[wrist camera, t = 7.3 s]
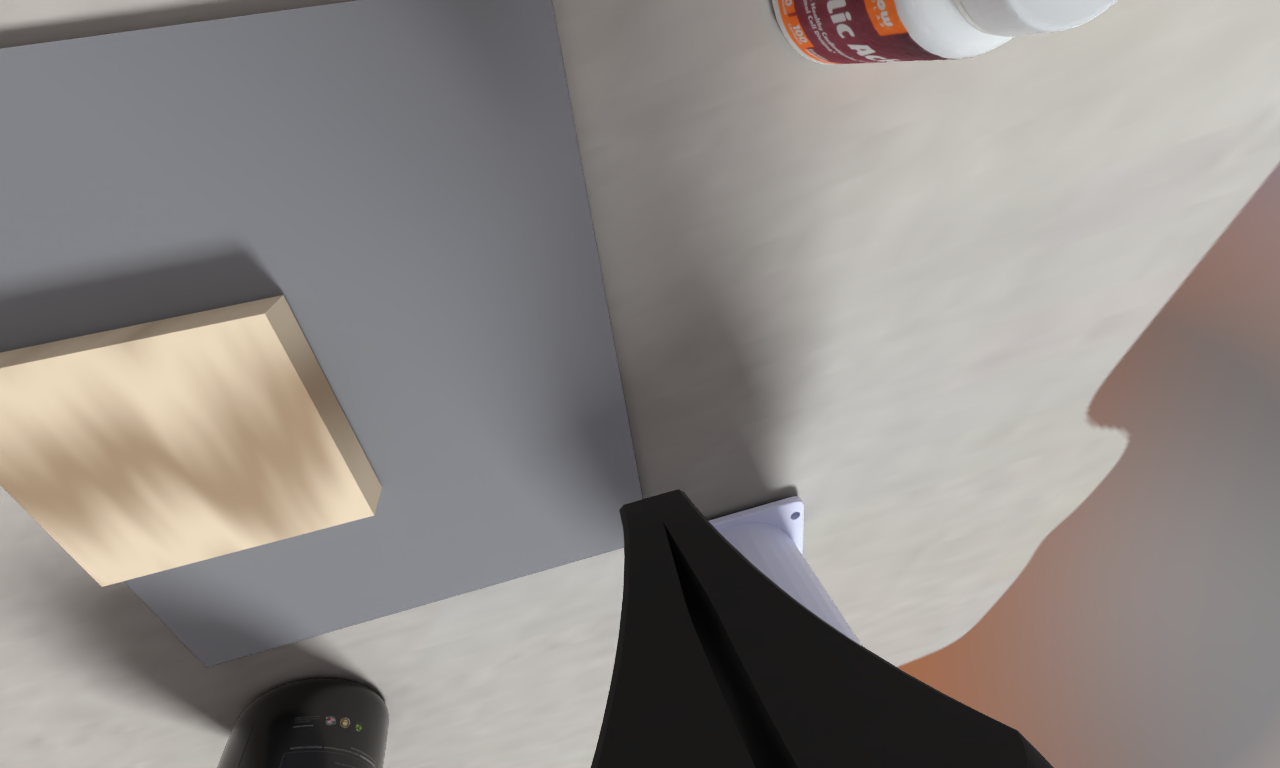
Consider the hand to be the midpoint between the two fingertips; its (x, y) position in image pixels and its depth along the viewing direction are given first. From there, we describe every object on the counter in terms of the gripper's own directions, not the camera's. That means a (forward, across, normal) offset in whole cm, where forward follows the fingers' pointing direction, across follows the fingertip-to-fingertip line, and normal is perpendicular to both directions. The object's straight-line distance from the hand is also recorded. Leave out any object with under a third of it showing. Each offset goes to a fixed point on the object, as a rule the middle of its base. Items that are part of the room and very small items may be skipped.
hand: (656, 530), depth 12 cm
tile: (+9, +9, 0) cm, 13 cm away
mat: (+10, +9, 0) cm, 14 cm away
